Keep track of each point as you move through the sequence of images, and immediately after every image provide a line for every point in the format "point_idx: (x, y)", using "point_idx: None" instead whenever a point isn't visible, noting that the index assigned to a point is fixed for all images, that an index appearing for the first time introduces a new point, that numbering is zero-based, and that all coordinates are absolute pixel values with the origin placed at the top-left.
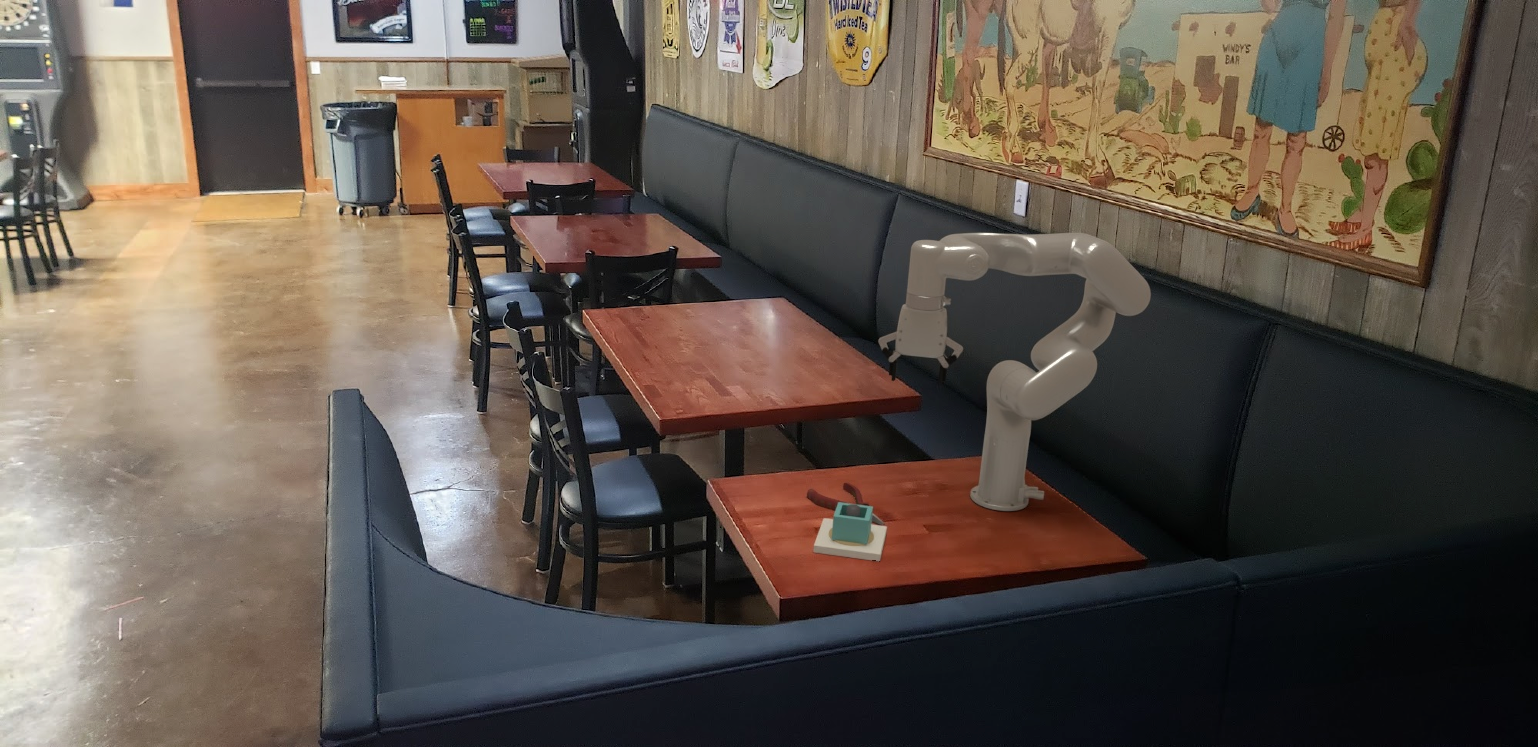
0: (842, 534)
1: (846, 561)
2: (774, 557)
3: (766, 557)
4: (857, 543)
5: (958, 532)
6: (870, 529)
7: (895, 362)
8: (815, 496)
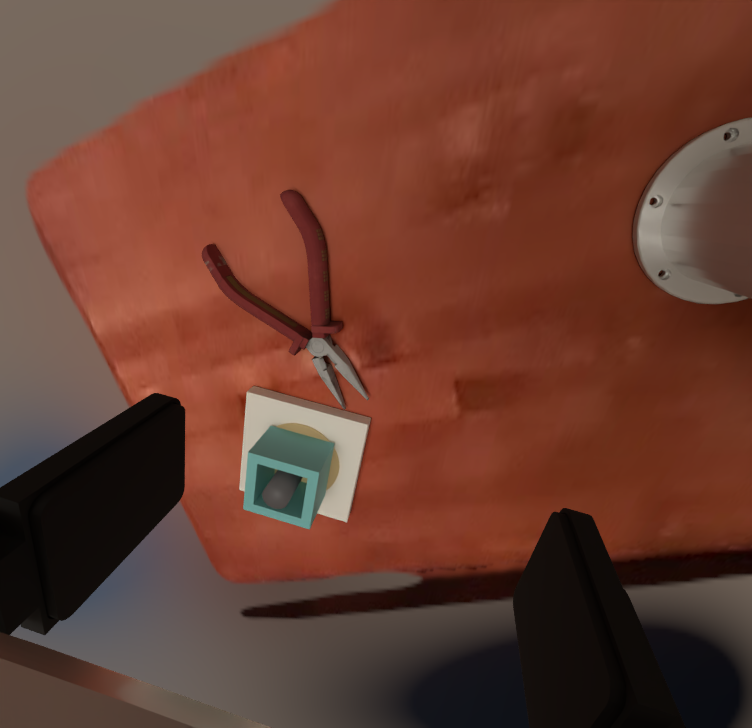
0: None
1: None
2: (192, 493)
3: None
4: None
5: (526, 413)
6: (330, 458)
7: (40, 621)
8: (220, 288)
